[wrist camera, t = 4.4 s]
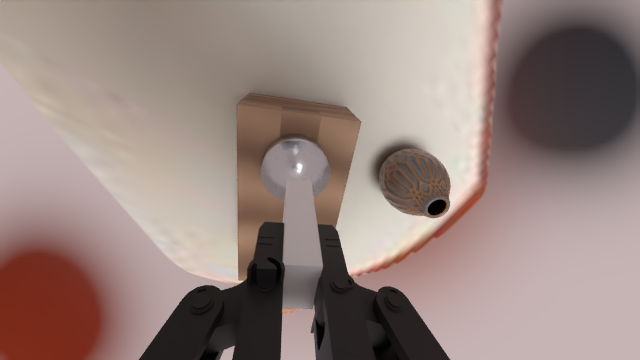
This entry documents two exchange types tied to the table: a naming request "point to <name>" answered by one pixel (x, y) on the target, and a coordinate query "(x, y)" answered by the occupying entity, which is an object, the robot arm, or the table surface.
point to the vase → (415, 183)
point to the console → (252, 143)
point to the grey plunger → (294, 164)
